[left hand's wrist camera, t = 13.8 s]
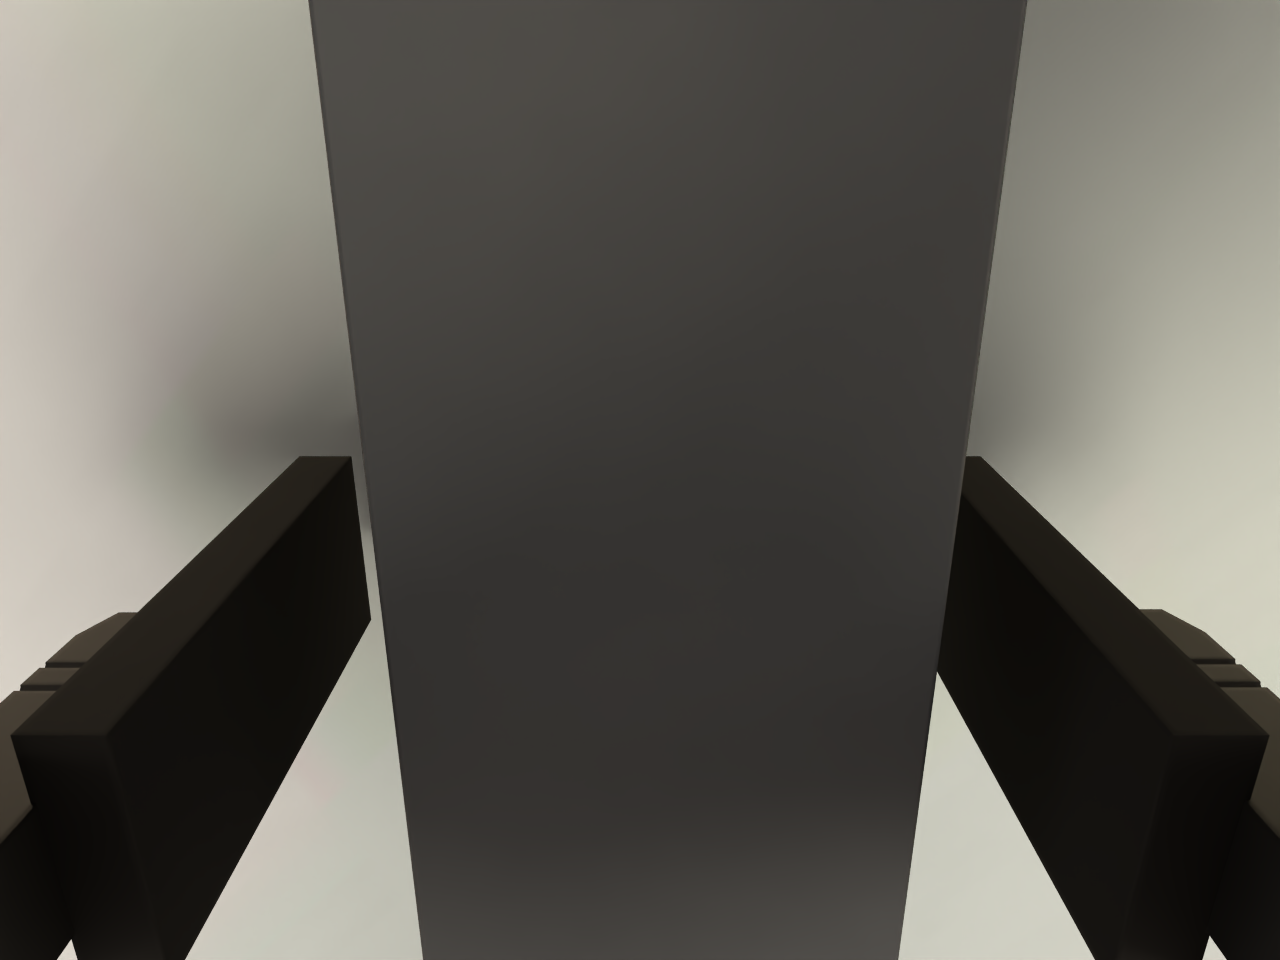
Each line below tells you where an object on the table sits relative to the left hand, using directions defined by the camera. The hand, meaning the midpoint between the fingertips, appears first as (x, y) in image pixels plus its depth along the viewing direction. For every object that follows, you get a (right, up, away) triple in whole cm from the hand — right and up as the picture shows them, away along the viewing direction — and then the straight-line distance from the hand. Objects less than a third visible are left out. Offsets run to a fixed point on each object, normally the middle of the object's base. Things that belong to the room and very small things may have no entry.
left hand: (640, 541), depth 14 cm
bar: (0, -30, +14) cm, 33 cm away
